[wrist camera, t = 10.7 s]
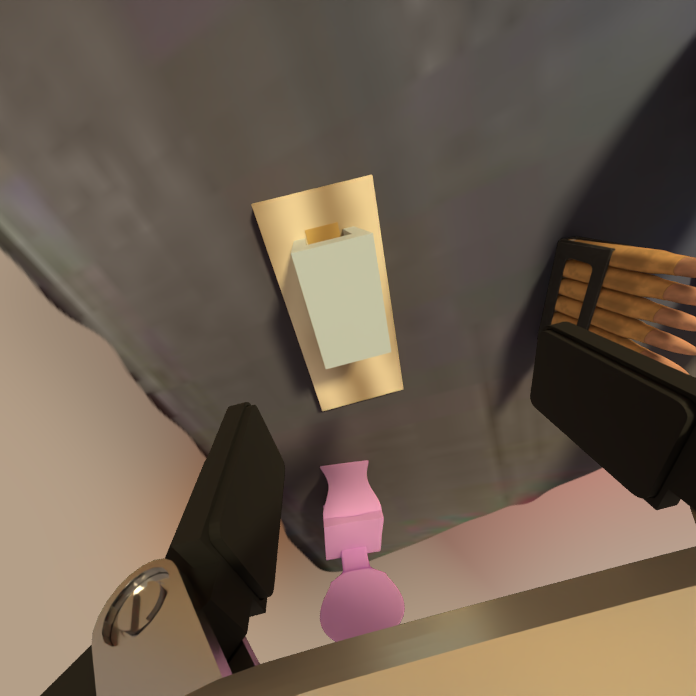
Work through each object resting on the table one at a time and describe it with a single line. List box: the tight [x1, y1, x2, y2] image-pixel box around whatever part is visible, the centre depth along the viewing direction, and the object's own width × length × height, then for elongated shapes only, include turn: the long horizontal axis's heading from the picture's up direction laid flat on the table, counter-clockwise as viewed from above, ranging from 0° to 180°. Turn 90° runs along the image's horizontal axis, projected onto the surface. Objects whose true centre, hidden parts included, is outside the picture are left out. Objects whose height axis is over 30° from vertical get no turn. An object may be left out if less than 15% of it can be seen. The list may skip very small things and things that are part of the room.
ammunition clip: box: [537, 236, 696, 375], centre depth 23 cm, size 11×2×12 cm, turn 8°
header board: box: [251, 175, 403, 411], centre depth 23 cm, size 9×20×5 cm, turn 12°
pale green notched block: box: [291, 226, 391, 369], centre depth 20 cm, size 5×8×6 cm, turn 12°
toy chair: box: [320, 460, 405, 642], centre depth 30 cm, size 8×9×15 cm
